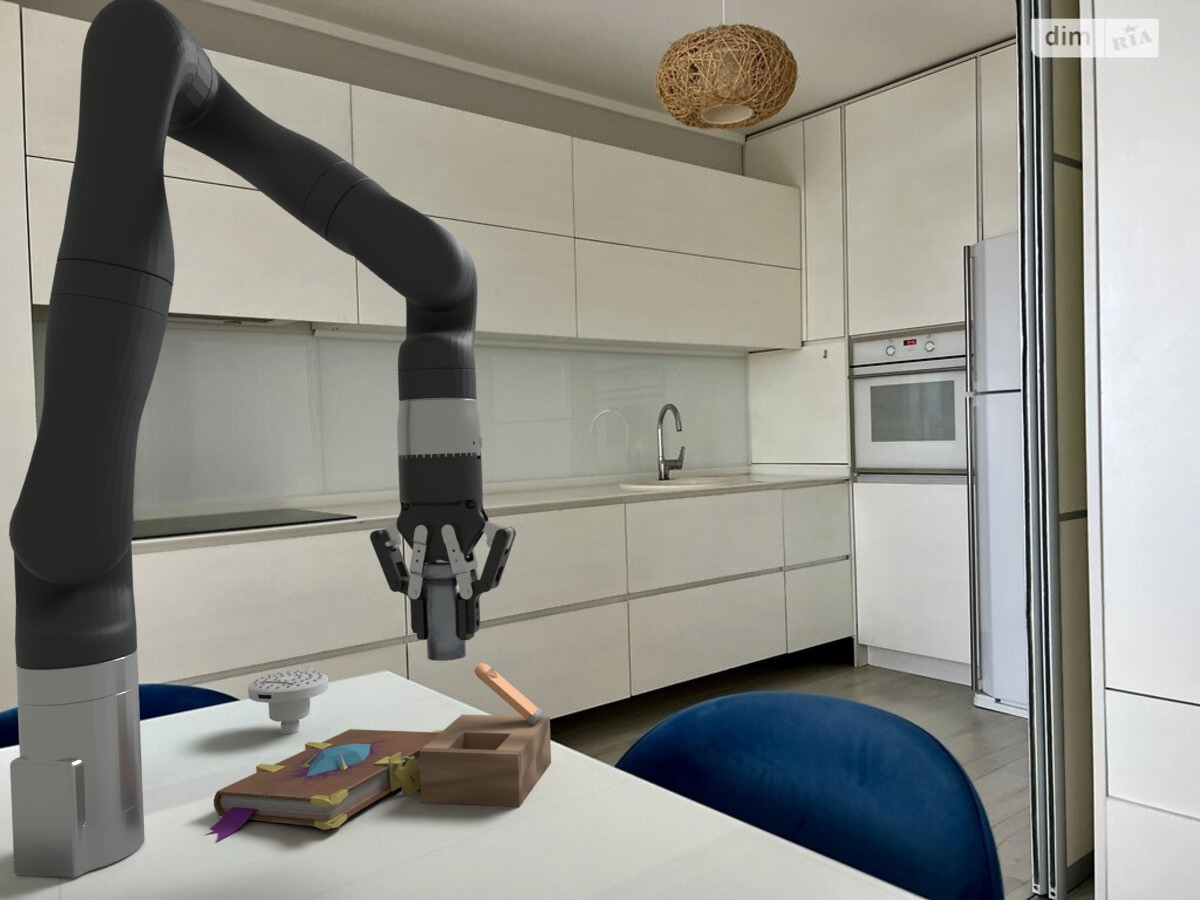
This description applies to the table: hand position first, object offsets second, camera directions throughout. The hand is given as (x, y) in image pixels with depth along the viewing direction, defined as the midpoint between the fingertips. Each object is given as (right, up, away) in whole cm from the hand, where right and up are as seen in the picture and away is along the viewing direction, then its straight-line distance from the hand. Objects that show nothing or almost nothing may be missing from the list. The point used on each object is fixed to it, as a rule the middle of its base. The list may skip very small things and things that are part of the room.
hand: (446, 637), depth 83 cm
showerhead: (-24, -18, +30) cm, 43 cm away
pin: (0, -2, 0) cm, 2 cm away
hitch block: (+3, -17, +10) cm, 20 cm away
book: (-13, -18, +8) cm, 24 cm away
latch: (+4, -9, +14) cm, 17 cm away
